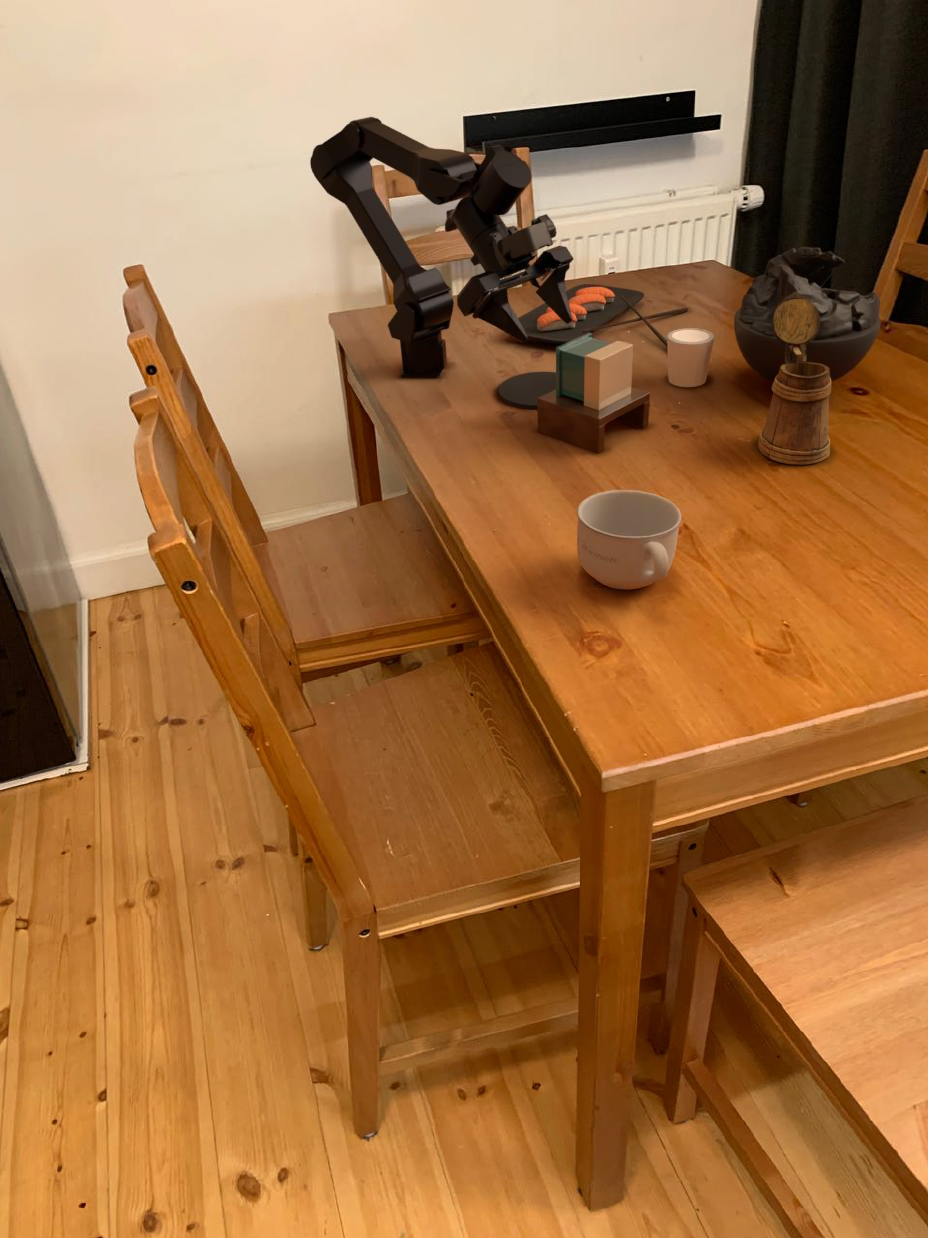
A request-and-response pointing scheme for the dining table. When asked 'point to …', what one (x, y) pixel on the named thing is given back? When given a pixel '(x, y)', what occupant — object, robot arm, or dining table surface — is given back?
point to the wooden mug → (797, 390)
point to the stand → (589, 417)
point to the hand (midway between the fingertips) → (548, 331)
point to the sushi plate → (586, 314)
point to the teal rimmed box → (594, 371)
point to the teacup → (627, 537)
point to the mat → (527, 388)
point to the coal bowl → (842, 313)
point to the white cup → (689, 356)
